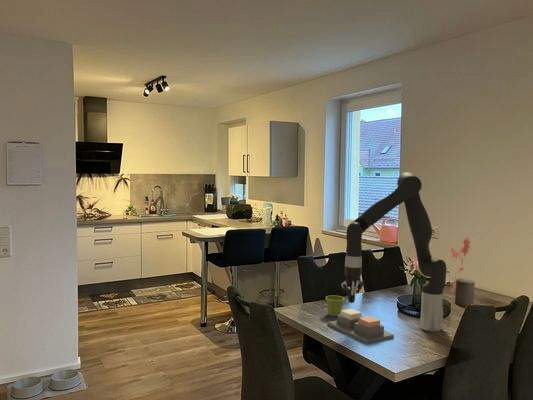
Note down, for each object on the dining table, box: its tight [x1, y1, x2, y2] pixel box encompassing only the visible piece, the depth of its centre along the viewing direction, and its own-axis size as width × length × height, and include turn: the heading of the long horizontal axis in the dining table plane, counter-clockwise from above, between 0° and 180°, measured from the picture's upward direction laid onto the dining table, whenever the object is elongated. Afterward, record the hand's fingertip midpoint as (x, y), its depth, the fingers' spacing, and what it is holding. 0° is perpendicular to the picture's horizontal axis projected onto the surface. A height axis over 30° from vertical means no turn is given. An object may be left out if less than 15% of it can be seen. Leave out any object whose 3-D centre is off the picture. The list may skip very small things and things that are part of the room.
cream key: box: [340, 308, 362, 320], centre depth 207 cm, size 7×7×3 cm
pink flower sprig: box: [446, 236, 473, 294], centre depth 274 cm, size 15×26×35 cm, turn 139°
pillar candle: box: [454, 277, 476, 307], centre depth 250 cm, size 10×10×15 cm
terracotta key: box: [358, 315, 381, 328], centre depth 197 cm, size 7×7×3 cm
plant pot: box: [325, 294, 345, 317], centre depth 225 cm, size 9×9×9 cm
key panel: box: [327, 314, 395, 345], centre depth 202 cm, size 16×26×5 cm, turn 30°
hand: (351, 302), depth 206 cm, fingers closed
